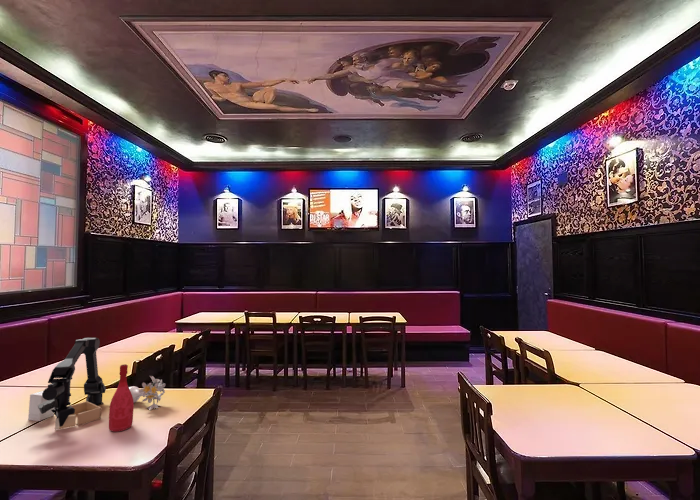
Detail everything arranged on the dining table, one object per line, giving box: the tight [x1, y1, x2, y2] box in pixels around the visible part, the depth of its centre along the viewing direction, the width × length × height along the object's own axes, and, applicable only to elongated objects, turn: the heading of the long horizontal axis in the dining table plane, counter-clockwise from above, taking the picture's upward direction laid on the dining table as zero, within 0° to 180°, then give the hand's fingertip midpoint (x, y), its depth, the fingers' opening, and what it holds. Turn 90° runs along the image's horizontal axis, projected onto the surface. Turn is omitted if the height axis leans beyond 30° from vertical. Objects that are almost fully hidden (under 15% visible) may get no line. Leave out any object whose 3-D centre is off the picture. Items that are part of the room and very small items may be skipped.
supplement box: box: [27, 390, 55, 422], centre depth 180 cm, size 7×7×13 cm
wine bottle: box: [108, 364, 135, 433], centre depth 170 cm, size 10×10×30 cm
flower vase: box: [128, 375, 166, 411], centre depth 199 cm, size 13×18×25 cm
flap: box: [54, 415, 76, 431], centre depth 168 cm, size 1×8×5 cm, turn 127°
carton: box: [67, 400, 102, 427], centre depth 180 cm, size 10×16×6 cm, turn 58°
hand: (60, 425), depth 167 cm, fingers open, 2 cm apart
